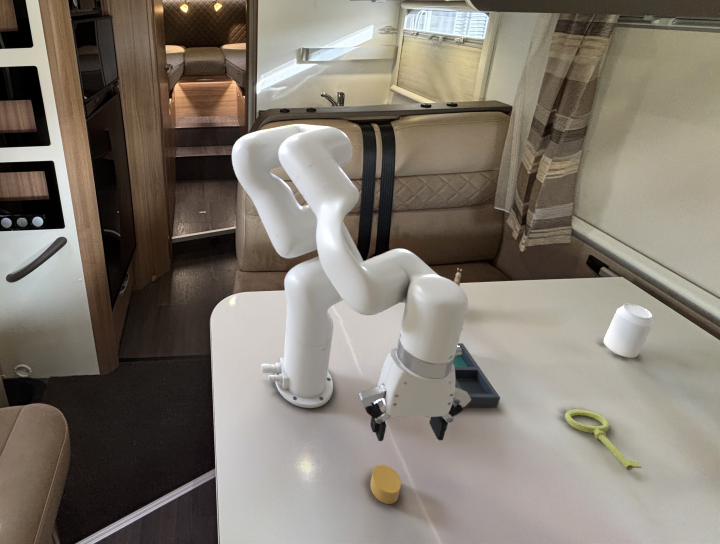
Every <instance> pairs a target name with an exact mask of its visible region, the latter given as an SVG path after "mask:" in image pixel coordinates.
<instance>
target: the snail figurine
mask: <svg viewBox="0 0 720 544" xmlns="http://www.w3.org/2000/svg"><path fill="white" fill-rule="evenodd" d="M456 270H457V272H456V273H455V277H454V280H453V282H454V283H456V284H457V285H459V286H460V285H461V277H462V273H461V272H462V271H463V269H462V268H461V269H460V268H459V267H457V269H456ZM459 271H460V272H459ZM460 287H461V286H460Z"/></svg>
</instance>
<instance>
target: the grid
mask: <svg viewBox="0 0 720 544" xmlns="http://www.w3.org/2000/svg"><path fill="white" fill-rule="evenodd" d="M458 346H460V348H461V350H462V355H457V356H456V357H454V361H453V364H454V367H455V387H456V388H459V389H461V390H464V391H466V392H467V393H468V395H469V396H470V398H471V401H470V402H469V403H468V404H467V405H466V406H465V407H463V409H497V408H498V405H499V404H500V400H501V396H500V395H499V393H498V392H497V391H496V389H495V387H494V386H493V385H492V383H491V382H490V381H489V379H488V377H487V376H486V375H485V373H484V372H483V370H482V369H481V367H480V366H479V364H478V363H477V362H476V360H475V359H474V357H473V356H472V355H471V353H470V352H469V350H468V349H467V347H466V346H465V344H464V343H462V342H461V343H459V342H458Z"/></svg>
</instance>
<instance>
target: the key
mask: <svg viewBox="0 0 720 544" xmlns="http://www.w3.org/2000/svg"><path fill="white" fill-rule="evenodd" d="M574 416H586V417H589V418H592V419H594V420H596V421H598V422H599V423H601V424H602V425H588V424H583V423H581V422H578V421H576V420H575V419H573V417H574ZM564 417H565V421H566V422H567V424H569V425H570V426H571V427H572V428H574V429H576V430H578V431H581V432H584V433H589V434H594V438H595V439H596V440H598V441H600V442H601V443H602V444H603V445H604V446H605V447H606V448H607V449H608V450H609V452H610V453H612V455H613V457H615V458H616V459H617V460H618V461H619V462H620V463H621V464H622V466H623V467H624V468H625V469H626V470H628V471H631V470H634V469H642V465H641V464H639V462H638V460H634V459H633V460H631V459H630V460H629V459H627V457H626V456H625V455H624V454H623V453H622V452H621V451H620V450H619V449H618V448H617V447H616V445H614V444H613V443H612V441H610V439H609V438H608V437H607V434H606V432H607V431H608V430H609V429H610V423H609V421H608V420H607V419H606V417H604V416H603V415H601V414H599V413H597V412H595V411H590V410H587V409H578V408H577V409H574V408H573V409H569V410H567V411H566V412H565V413H564Z"/></svg>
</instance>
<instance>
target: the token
mask: <svg viewBox="0 0 720 544" xmlns="http://www.w3.org/2000/svg"><path fill="white" fill-rule="evenodd" d="M369 483H370V484H369V486H370V490H371V492H372V494H373V496H374V497H375V499H377V500H378V501H379V502H381V503H383V504H387V505H392V504H395V503H396V502H397V501H398V499H399V495H400V491H401V488H402V479H401V478H400V476H399V474H398V473H397V471H396V470H395V469H393V468H392V467H391V466H389V465H386V464H377V465H376V466H375V467H374V468H373V470H372V474H371V478H370V482H369Z"/></svg>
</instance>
